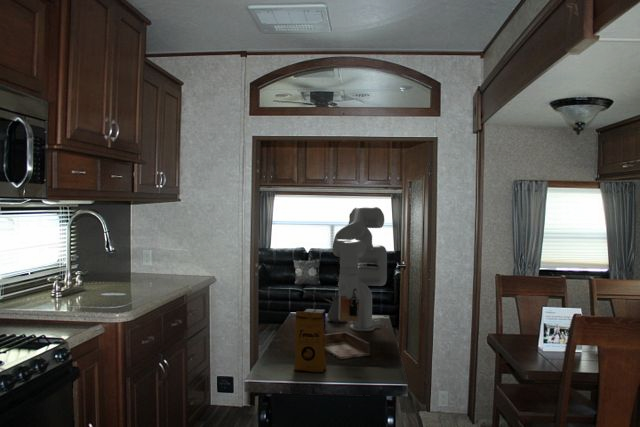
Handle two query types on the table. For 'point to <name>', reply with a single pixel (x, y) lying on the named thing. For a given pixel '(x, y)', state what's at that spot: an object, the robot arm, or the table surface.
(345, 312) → the small box
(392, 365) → the table surface
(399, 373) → the table surface
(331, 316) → the coffee pot
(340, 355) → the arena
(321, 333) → the coffee package
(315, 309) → the puzzle cube
